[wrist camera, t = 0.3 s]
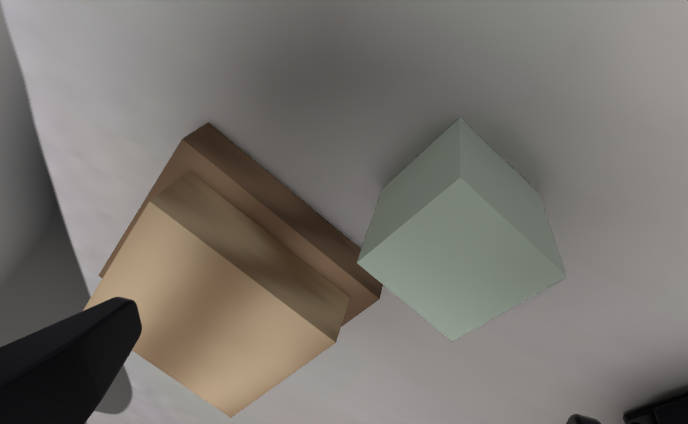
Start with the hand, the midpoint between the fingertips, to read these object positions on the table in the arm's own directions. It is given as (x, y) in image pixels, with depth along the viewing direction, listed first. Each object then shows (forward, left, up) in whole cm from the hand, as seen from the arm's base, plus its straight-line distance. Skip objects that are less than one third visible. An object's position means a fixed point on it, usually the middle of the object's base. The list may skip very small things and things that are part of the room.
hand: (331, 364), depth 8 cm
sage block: (-4, 0, -13) cm, 13 cm away
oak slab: (+1, +12, -10) cm, 16 cm away
